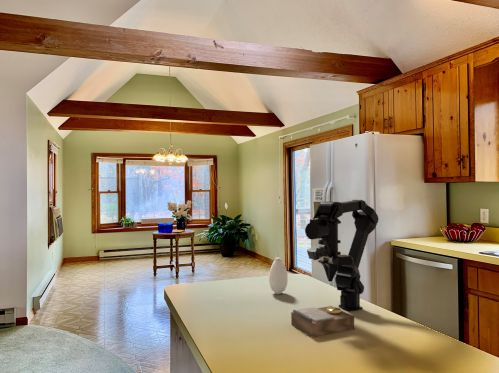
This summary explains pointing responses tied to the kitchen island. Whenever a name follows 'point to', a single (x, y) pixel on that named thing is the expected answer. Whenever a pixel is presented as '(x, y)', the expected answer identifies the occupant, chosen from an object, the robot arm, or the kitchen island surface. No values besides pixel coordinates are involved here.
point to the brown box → (322, 323)
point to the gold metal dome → (333, 310)
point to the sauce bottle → (278, 276)
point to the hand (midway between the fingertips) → (330, 281)
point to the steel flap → (316, 314)
